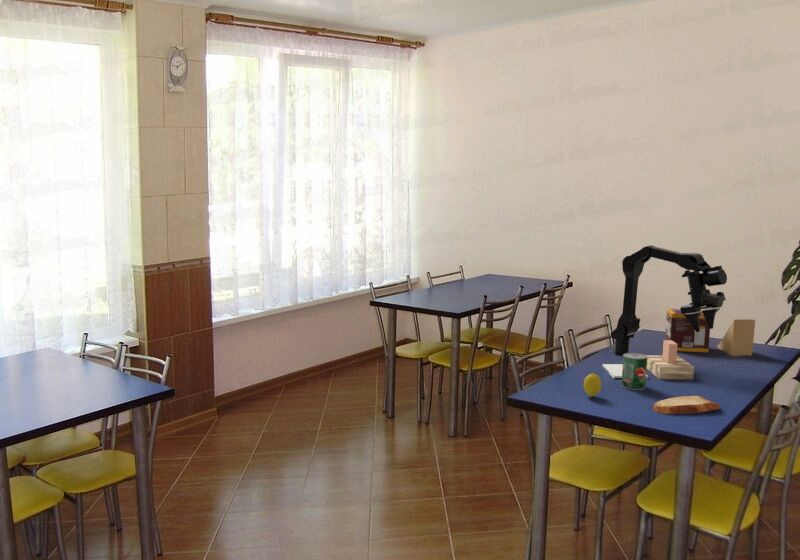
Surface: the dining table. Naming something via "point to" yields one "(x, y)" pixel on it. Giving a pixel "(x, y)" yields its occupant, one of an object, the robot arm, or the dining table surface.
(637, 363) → the canned tomato
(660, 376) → the slot box
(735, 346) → the sandwich container
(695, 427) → the dining table surface
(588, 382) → the lemon
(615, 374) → the mat
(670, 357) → the pink rectangular block
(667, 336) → the supplement box
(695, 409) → the slice of bread
